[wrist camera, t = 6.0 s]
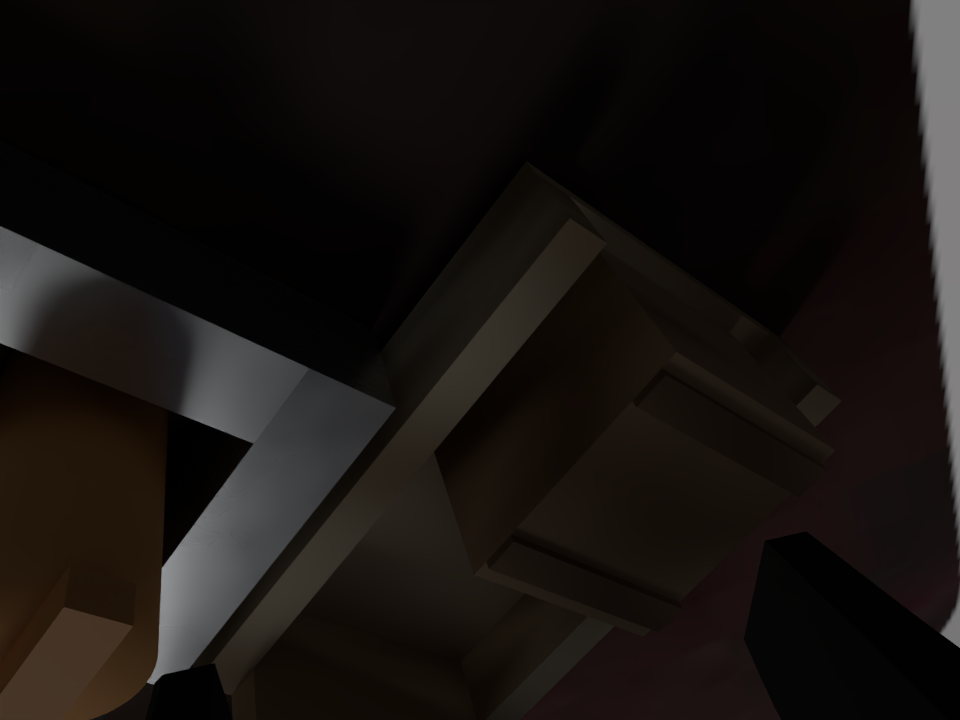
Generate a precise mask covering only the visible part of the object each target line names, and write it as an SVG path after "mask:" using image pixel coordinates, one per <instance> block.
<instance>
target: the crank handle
mask: <svg viewBox="0 0 960 720" xmlns="http://www.w3.org/2000/svg"><path fill="white" fill-rule="evenodd" d="M168 416H169V410H168V409H165V408H163V407H160V406H158V405H155V404H153V403H150V402H148V401H145V400H142V399H140V398H137V397H135V396H132V395H130V394H127V393H125V392H122V391H120V390H117V389H115V388H112V387H110V386H107V385H105V384H102V383H100V382H97V381H94V380H92V379H89V378H87V377H84V376H82V375H79V374H77V373H74V372H72V371H69V370H67V369H64V368H62V367H59V366H57V365H54V364H52V363H49V362H47V361H44V360H41V359H39V358H36V357H34V356H31V355H29V354H26V353H24V352H21V351H19V350H15V351H14V352H13V353H12V354H11V355H10V357H9V358H8V360H7V361H6V362H5V364H4V366H3V368H2V370H1V373H0V720H90V719H93V718H96V717H98V716H101V715H103V714H106V713H108V712H110V711H112V710H114V709H115V708H117V707H119V706H121V705H122V704H124V703H125V702H127V701H128V700H129V699H131V698H132V697H133V696H134V695H135V694H137V693H138V692H139V691H140V690H141V689H142V688H143V686H144V685H145V684H146V683H147V681H148V680H149V678H150V677H151V675H152V673H153V671H154V669H155V667H156V663H157V659H158V646H159V623H160V600H161V577H162V554H163V531H164V508H165V485H166V462H167V439H168Z"/></svg>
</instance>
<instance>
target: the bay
mask: <svg viewBox="0 0 960 720" xmlns="http://www.w3.org/2000/svg"><path fill="white" fill-rule="evenodd" d="M603 248H604V249H605V250H607V251H608V252H610V253H611V254H613V255H614V256H616V257H617V258H619V259H620V260H622V261H623V262H625V263H626V264H628V265H629V266H631V267H632V268H634V269H635V270H637V271H638V272H640V273H641V274H643V275H644V276H646V277H647V278H649V279H650V280H652V281H653V282H655V283H656V284H658V285H659V286H661V287H662V288H664V289H665V290H667V291H668V292H670V293H671V294H673V295H674V296H676V297H677V298H679V299H680V300H682V301H683V302H685V303H686V304H688V305H689V306H691V307H692V308H694V309H695V310H697V311H698V312H700V313H701V314H703V315H704V316H706V317H707V318H709V319H710V320H712V321H713V322H715V323H716V324H718V325H719V326H721V327H722V328H724V329H725V330H727V331H728V332H730V333H731V334H733V335H734V337H735V338H736V339H737V340H738V341H739V342H740V343H741V344H742V346H743V347H744V348H745V349H746V350H747V351H748V352H749V353H750V355H751V356H752V357H753V358H754V359H755V360H756V361H757V362H758V364H759V365H760V366H761V367H762V368H763V369H764V370H765V371H766V373H767V374H768V375H769V376H770V377H771V378H772V379H773V380H774V382H775V383H776V384H777V385H778V386H779V387H780V388H781V389H782V391H783V392H784V393H785V394H786V395H787V396H788V397H789V399H790V400H791V401H792V402H793V403H794V404H795V405H796V406H797V408H798V409H799V410H800V411H801V412H802V413H803V414H804V415H805V417H806V418H807V419H808V420H809V421H810V422H811V423H812V424H813V426H814V427H816V426H817V425H818V424H819V423H820V422H821V421H822V420H823V419H824V418H825V417H826V416H827V415H828V414H829V413H830V412H831V411H832V410H833V409H834V408H835V407H836V406H837V405H838V404H839V403H840V402H841V400H840V399H839V398H838V396H837V395H836V394H835V393H834V392H833V391H832V390H831V389H830V388H829V387H828V386H827V385H826V384H825V383H824V382H823V381H822V380H821V379H820V378H819V377H818V376H817V375H816V374H815V373H814V372H813V370H812V369H811V368H810V367H809V366H808V365H807V364H806V363H805V362H804V361H803V360H802V359H801V358H800V357H799V356H798V355H797V354H796V353H795V352H794V351H793V350H792V349H791V348H790V347H789V346H788V345H787V343H786V342H785V341H784V340H783V339H782V338H781V337H779V336H778V335H776V334H775V333H773V332H772V331H770V330H769V329H768V328H766V327H765V326H763V325H762V324H760V323H759V322H758V321H756V320H755V319H753V318H752V317H750V316H749V315H747V314H746V313H745V312H743V311H742V310H740V309H739V308H737V307H736V306H734V305H733V304H732V303H730V302H729V301H727V300H726V299H724V298H723V297H721V296H720V295H719V294H717V293H716V292H714V291H713V290H711V289H710V288H708V287H707V286H706V285H704V284H703V283H701V282H700V281H698V280H697V279H696V278H694V277H693V276H691V275H690V274H688V273H687V272H685V271H684V270H683V269H681V268H680V267H678V266H677V265H675V264H674V263H672V262H671V261H670V260H668V259H667V258H665V257H664V256H662V255H661V254H659V253H658V252H657V251H655V250H654V249H652V248H651V247H649V246H648V245H647V244H645V243H644V242H642V241H641V240H639V239H638V238H636V237H635V236H634V235H632V234H631V233H629V232H628V231H626V230H625V229H623V228H622V227H621V226H619V225H618V224H616V223H615V222H613V221H612V220H610V219H609V218H608V217H606V216H605V215H603V214H602V213H600V212H599V211H597V210H596V209H595V208H593V207H592V206H590V205H589V204H587V203H586V202H585V201H583V200H582V199H580V198H579V197H577V196H576V195H574V194H573V193H572V192H570V191H569V190H567V189H566V188H564V187H563V186H561V185H560V184H559V183H557V182H556V181H554V180H553V179H551V178H550V177H548V176H547V175H546V174H544V173H543V172H541V171H540V170H538V169H537V168H535V167H534V166H533V165H531V164H530V163H528V162H527V161H526V162H525V164H524V165H523V166H522V168H521V169H520V170H519V172H518V173H517V174H516V175H515V177H514V178H513V179H512V181H511V182H510V183H509V185H508V186H507V187H506V189H505V190H504V191H503V192H502V194H501V195H500V196H499V198H498V199H497V200H496V202H495V203H494V204H493V206H492V207H491V208H490V209H489V211H488V212H487V213H486V215H485V216H484V217H483V219H482V220H481V221H480V222H479V224H478V225H477V226H476V228H475V229H474V230H473V232H472V233H471V234H470V236H469V237H468V238H467V239H466V241H465V242H464V243H463V245H462V246H461V247H460V249H459V250H458V251H457V253H456V254H455V255H454V256H453V258H452V259H451V260H450V262H449V263H448V264H447V266H446V267H445V268H444V270H443V271H442V272H441V273H440V275H439V276H438V277H437V279H436V280H435V281H434V283H433V284H432V285H431V287H430V288H429V289H428V290H427V292H426V293H425V294H424V296H423V297H422V298H421V300H420V301H419V302H418V303H417V305H416V306H415V307H414V309H413V310H412V311H411V313H410V314H409V315H408V317H407V318H406V319H405V320H404V322H403V323H402V324H401V326H400V327H399V328H398V330H397V331H396V332H395V334H394V335H393V336H392V337H391V339H390V340H389V341H388V343H387V344H386V345H385V347H384V348H383V349H382V351H381V352H380V355H381V358H382V362H383V365H384V369H385V372H386V375H387V379H388V382H389V386H390V389H391V393H392V396H393V399H394V403H395V406H396V409H395V410H394V411H393V412H392V414H391V415H390V416H389V418H388V419H387V420H386V421H385V423H384V424H383V425H382V426H381V428H380V429H379V430H378V431H377V433H376V434H375V435H374V436H373V438H372V439H371V440H370V441H369V443H368V444H367V445H366V446H365V448H364V449H363V450H362V452H361V453H360V454H359V455H358V457H357V458H356V459H355V460H354V462H353V463H352V464H351V465H350V467H349V468H348V469H347V470H346V472H345V473H344V474H343V475H342V477H341V478H340V479H339V480H338V482H337V483H336V484H335V486H334V487H333V488H332V489H331V491H330V492H329V493H328V494H327V496H326V497H325V498H324V499H323V501H322V502H321V503H320V504H319V506H318V507H317V508H316V509H315V511H314V512H313V513H312V514H311V516H310V517H309V518H308V519H307V521H306V522H305V523H304V525H303V526H302V527H301V528H300V530H299V531H298V532H297V533H296V535H295V536H294V537H293V538H292V540H291V541H290V542H289V543H288V545H287V546H286V547H285V548H284V550H283V551H282V552H281V553H280V555H279V556H278V557H277V559H276V560H275V561H274V562H273V564H272V565H271V566H270V567H269V569H268V570H267V571H266V572H265V574H264V575H263V576H262V577H261V579H260V580H259V581H258V582H257V584H256V585H255V586H254V587H253V589H252V590H251V591H250V593H249V594H248V595H247V596H246V598H245V599H244V600H243V601H242V603H241V604H240V605H239V606H238V608H237V609H236V610H235V611H234V613H233V614H232V615H231V616H230V618H229V619H228V620H227V621H226V623H225V624H224V625H223V627H222V628H221V629H220V630H219V632H218V633H217V634H216V635H215V637H214V638H213V639H212V640H211V642H210V643H209V644H208V645H207V647H206V648H205V649H204V650H203V652H202V653H201V654H200V655H199V657H198V658H197V659H196V661H195V662H194V663H193V668H195V667H200V666H204V665H209V664H213V663H215V665H216V669H217V672H218V675H219V678H220V681H221V684H222V687H223V690H224V693H225V694H229V695H232V718H233V720H520V719H521V718H522V717H523V716H524V715H525V714H526V713H527V712H528V711H529V710H530V709H531V708H532V707H533V706H534V705H535V704H536V703H537V702H538V701H539V700H540V699H541V698H542V697H543V696H544V695H545V694H546V693H547V692H548V691H549V690H550V689H551V688H552V687H553V686H554V685H555V684H556V683H557V682H558V681H559V680H560V679H561V678H562V677H563V676H564V675H565V674H566V673H567V672H568V671H570V670H571V669H572V668H573V667H574V666H575V665H576V664H577V663H578V662H579V661H580V660H581V659H582V658H583V657H584V656H585V655H586V654H587V653H588V652H589V651H590V650H591V649H592V648H593V647H594V646H595V645H596V644H597V643H598V642H599V641H600V640H601V639H602V638H603V637H604V636H605V635H606V634H607V633H608V632H609V631H610V630H611V629H612V628H613V627H614V626H613V625H610V624H607V623H605V622H602V621H599V620H596V619H594V618H591V617H588V616H585V615H583V614H580V613H577V612H574V611H572V610H569V609H566V608H563V607H561V606H558V605H555V604H552V603H550V602H547V601H544V600H541V599H539V598H536V597H533V596H530V595H528V594H525V593H522V592H519V591H517V590H514V589H511V588H508V587H506V586H503V585H500V584H497V583H495V582H492V581H489V580H486V579H484V578H481V577H478V576H475V575H474V573H473V570H472V567H471V564H470V561H469V558H468V555H467V552H466V549H465V545H464V542H463V539H462V536H461V533H460V530H459V527H458V524H457V521H456V518H455V515H454V512H453V509H452V506H451V503H450V500H449V496H448V493H447V490H446V487H445V484H444V481H443V478H442V475H441V472H440V469H439V466H438V463H437V460H436V457H435V454H434V451H435V450H436V449H437V447H438V446H439V445H440V444H441V443H442V441H443V440H444V439H445V438H446V437H447V435H448V434H449V433H450V432H451V431H452V429H453V428H454V427H455V426H456V425H457V423H458V422H459V421H460V420H461V418H462V417H463V416H464V415H465V414H466V412H467V411H468V410H469V409H470V408H471V406H472V405H473V404H474V403H475V402H476V400H477V399H478V398H479V397H480V396H481V394H482V393H483V392H484V391H485V390H486V388H487V387H488V386H489V385H490V384H491V382H492V381H493V380H494V379H495V378H496V376H497V375H498V374H499V373H500V372H501V370H502V369H503V368H504V367H505V366H506V364H507V363H508V362H509V361H510V360H511V358H512V357H513V356H514V355H515V353H516V352H517V351H518V350H519V349H520V347H521V346H522V345H523V344H524V343H525V341H526V340H527V339H528V338H529V337H530V335H531V334H532V333H533V332H534V331H535V329H536V328H537V327H538V326H539V325H540V323H541V322H542V321H543V320H544V319H545V317H546V316H547V315H548V314H549V313H550V311H551V310H552V309H553V308H554V307H555V305H556V304H557V303H558V302H559V301H560V299H561V298H562V297H563V296H564V294H565V293H566V292H567V291H568V290H569V288H570V287H571V286H572V285H573V284H574V282H575V281H576V280H577V279H578V278H579V276H580V275H581V274H582V273H583V272H584V270H585V269H586V268H587V267H588V266H589V264H590V263H591V262H592V261H593V260H594V258H595V257H596V256H597V255H598V254H599V252H600V251H601V250H602V249H603Z"/></svg>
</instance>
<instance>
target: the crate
mask: <svg viewBox="0 0 960 720" xmlns="http://www.w3.org/2000/svg"><path fill="white" fill-rule="evenodd" d="M834 451H835V449H834V448H833V447H832V446H831V445H830V444H829V442H828V441H827V440H826V439H825V438H824V437H823V436H822V435H821V433H820V432H819V431H818V430H817V429H816V428H815V427H814V426H813V424H812V423H811V422H810V421H809V420H808V419H807V418H806V417H805V415H804V414H803V413H802V412H801V411H800V410H799V409H798V408H797V406H796V405H795V404H794V403H793V402H792V401H791V400H790V399H789V397H788V396H787V395H786V394H785V393H784V392H783V391H782V389H781V388H780V387H779V386H778V385H777V384H776V383H775V382H774V380H773V379H772V378H771V377H770V376H769V375H768V374H767V373H766V371H765V370H764V369H763V368H762V367H761V366H760V365H759V364H758V362H757V361H756V360H755V359H754V358H753V357H752V356H751V355H750V353H749V352H748V351H747V350H746V349H745V348H744V347H743V346H742V344H741V343H740V342H739V341H738V340H737V339H736V338H735V337H734V335H733V334H731V333H730V332H728V331H727V330H725V329H724V328H722V327H721V326H719V325H718V324H716V323H715V322H713V321H712V320H710V319H709V318H707V317H706V316H704V315H703V314H701V313H700V312H698V311H697V310H695V309H694V308H692V307H691V306H689V305H688V304H686V303H685V302H683V301H682V300H680V299H679V298H677V297H676V296H674V295H673V294H671V293H670V292H668V291H667V290H665V289H664V288H662V287H661V286H659V285H658V284H656V283H655V282H653V281H652V280H650V279H649V278H647V277H646V276H644V275H643V274H641V273H640V272H638V271H637V270H635V269H634V268H632V267H631V266H629V265H628V264H626V263H625V262H623V261H622V260H620V259H619V258H617V257H616V256H614V255H613V254H611V253H610V252H608V251H607V250H605V249H604V248H603V249H602V250H601V251H600V252H599V254H598V255H597V256H596V257H595V258H594V260H593V261H592V262H591V263H590V264H589V266H588V267H587V268H586V269H585V270H584V272H583V273H582V274H581V275H580V276H579V278H578V279H577V280H576V281H575V282H574V284H573V285H572V286H571V287H570V288H569V290H568V291H567V292H566V293H565V294H564V296H563V297H562V298H561V299H560V301H559V302H558V303H557V304H556V305H555V307H554V308H553V309H552V310H551V311H550V313H549V314H548V315H547V316H546V317H545V319H544V320H543V321H542V322H541V323H540V325H539V326H538V327H537V328H536V329H535V331H534V332H533V333H532V334H531V335H530V337H529V338H528V339H527V340H526V341H525V343H524V344H523V345H522V346H521V347H520V349H519V350H518V351H517V352H516V353H515V355H514V356H513V357H512V358H511V360H510V361H509V362H508V363H507V364H506V366H505V367H504V368H503V369H502V370H501V372H500V373H499V374H498V375H497V376H496V378H495V379H494V380H493V381H492V382H491V384H490V385H489V386H488V387H487V388H486V390H485V391H484V392H483V393H482V394H481V396H480V397H479V398H478V399H477V400H476V402H475V403H474V404H473V405H472V406H471V408H470V409H469V410H468V411H467V412H466V414H465V415H464V416H463V417H462V418H461V420H460V421H459V422H458V423H457V425H456V426H455V427H454V428H453V429H452V431H451V432H450V433H449V434H448V435H447V437H446V438H445V439H444V440H443V441H442V443H441V444H440V445H439V446H438V447H437V449H436V450H435V451H434V454H435V457H436V460H437V463H438V466H439V469H440V472H441V475H442V478H443V481H444V484H445V487H446V490H447V493H448V496H449V500H450V503H451V506H452V509H453V512H454V515H455V518H456V521H457V524H458V527H459V530H460V533H461V536H462V539H463V542H464V545H465V549H466V552H467V555H468V558H469V561H470V564H471V567H472V570H473V573H474V575H475V576H478V577H481V578H484V579H486V580H489V581H492V582H495V583H497V584H500V585H503V586H506V587H508V588H511V589H514V590H517V591H519V592H522V593H525V594H528V595H530V596H533V597H536V598H539V599H541V600H544V601H547V602H550V603H552V604H555V605H558V606H561V607H563V608H566V609H569V610H572V611H574V612H577V613H580V614H583V615H585V616H588V617H591V618H594V619H596V620H599V621H602V622H605V623H607V624H610V625H613V626H616V627H618V628H621V629H624V630H627V631H629V632H632V633H635V634H638V635H640V636H644V635H646V634H647V633H648V632H649V631H650V630H654V631H657V632H659V631H660V630H662V629H663V628H664V627H665V626H666V625H667V624H668V623H669V622H670V621H671V620H672V619H673V618H674V617H675V616H676V615H677V614H678V613H679V612H680V611H681V610H682V607H681V605H680V603H679V602H680V601H681V600H682V599H683V598H684V597H685V596H686V595H687V594H688V593H689V592H690V591H691V590H692V589H693V588H694V587H695V586H696V585H697V584H698V583H699V582H700V581H701V580H702V579H703V578H704V577H705V576H706V575H707V574H708V573H709V572H711V571H712V570H713V569H714V568H715V567H716V566H717V565H718V564H719V563H720V562H721V561H722V560H723V559H724V558H725V557H726V556H727V555H728V554H729V553H730V552H731V551H732V550H733V549H734V548H735V547H736V546H737V545H738V544H739V543H740V542H741V541H743V540H744V539H745V538H746V537H747V536H748V535H749V534H750V533H751V532H752V531H753V530H754V529H755V528H756V527H757V526H758V525H759V524H760V523H761V522H762V521H763V520H764V519H765V518H766V517H767V516H768V515H769V514H770V513H771V512H772V511H773V510H775V509H776V508H777V507H778V506H779V505H780V504H781V503H782V502H783V501H784V500H785V499H786V498H787V497H788V496H789V495H790V494H791V493H793V494H794V495H796V496H798V497H800V496H801V495H802V494H803V493H804V492H805V491H806V490H807V489H808V488H809V487H810V486H811V485H812V484H813V483H814V482H815V481H816V480H817V479H818V478H819V477H820V476H821V475H822V474H823V473H824V472H826V471H827V470H826V469H825V468H824V466H823V465H822V463H823V462H824V461H825V460H826V459H827V458H828V457H829V456H830V455H831V454H832V453H833V452H834Z"/></svg>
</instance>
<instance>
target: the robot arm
mask: <svg viewBox="0 0 960 720" xmlns="http://www.w3.org/2000/svg"><path fill="white" fill-rule="evenodd" d="M744 640H745V642H746V645H747V647H748V649H749V652H750V654H751V656H752V658H753V661H754V663H755V665H756V668H757V670H758V672H759V674H760V677H761V679H762V681H763V683H764V685H765V687H766V690H767V692H768V694H769V696H770V698H771V700H772V702H773V704H774V707H775V709H776V711H777V712H778V714H779V716H780V718H781V719H782V720H960V648H959V647H958V646H956V645H955V644H953V643H952V642H951V641H950V640H948V639H947V638H945V637H944V636H943V635H941V634H940V633H939V632H937V631H936V630H934V629H933V628H932V627H930V626H929V625H928V624H926V623H925V622H924V621H922V620H921V619H920V618H918V617H917V616H916V615H914V614H913V613H912V612H910V611H909V610H908V609H906V608H905V607H904V606H902V605H901V604H900V603H898V602H897V601H896V600H894V599H893V598H892V597H891V596H889V595H888V594H887V593H885V592H884V591H883V590H881V589H880V588H879V587H877V586H876V585H875V584H874V583H872V582H871V581H870V580H868V579H867V578H866V577H865V576H863V575H862V574H861V573H859V572H858V571H857V570H856V569H854V568H853V567H852V566H850V565H849V564H848V563H846V562H845V561H844V560H843V559H841V558H840V557H839V556H837V555H836V554H835V553H834V552H832V551H831V550H830V549H828V548H827V547H826V546H825V545H823V544H822V543H821V542H819V541H818V540H817V539H815V538H814V537H813V536H811V535H810V534H809V533H807V532H802V533H798V534H793V535H789V536H784V537H780V538H775V539H771V540H766V541H765V543H764V548H763V552H762V557H761V562H760V566H759V571H758V576H757V581H756V585H755V590H754V595H753V599H752V604H751V609H750V613H749V618H748V623H747V627H746V632H745V637H744ZM146 720H233V718H232V715H231V712H230V709H229V706H228V703H227V700H226V697H225V694H224V690H223V687H222V684H221V681H220V678H219V675H218V672H217V669H216V665H215V663H213V664H209V665H204V666H200V667H195V668H191V669H186V670H182V671H177V672H173V673H168V674H164V675H162V676H161V677H160V678H159V679H158V680H157V681H156V682H155V684H154V688H153V692H152V697H151V701H150V705H149V709H148V713H147V716H146Z"/></svg>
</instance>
